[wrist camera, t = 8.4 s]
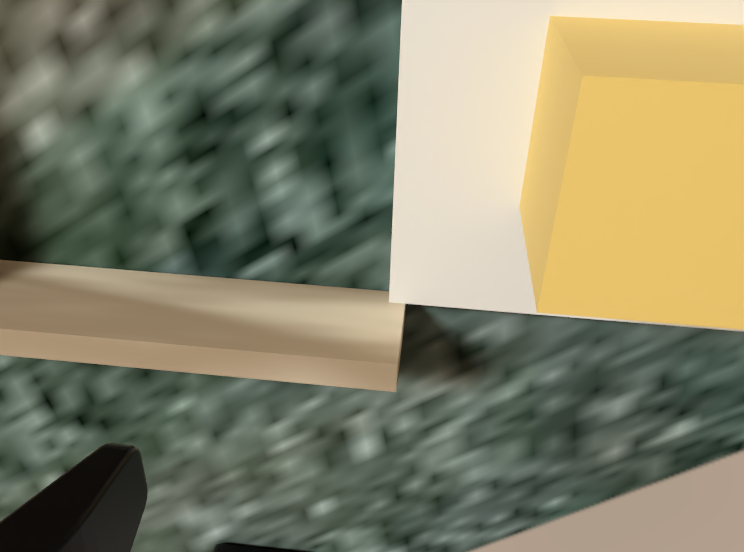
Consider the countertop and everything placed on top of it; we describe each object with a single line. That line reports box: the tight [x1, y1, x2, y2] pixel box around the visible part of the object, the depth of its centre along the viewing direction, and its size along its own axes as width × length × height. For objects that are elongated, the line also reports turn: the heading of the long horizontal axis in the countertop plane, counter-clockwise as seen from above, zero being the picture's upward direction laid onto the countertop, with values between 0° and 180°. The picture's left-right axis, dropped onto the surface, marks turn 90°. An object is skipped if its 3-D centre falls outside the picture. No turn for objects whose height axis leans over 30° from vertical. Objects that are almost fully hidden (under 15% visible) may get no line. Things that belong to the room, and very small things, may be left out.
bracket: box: [0, 260, 406, 392], centre depth 16 cm, size 16×16×4 cm
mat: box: [389, 0, 744, 332], centre depth 17 cm, size 12×12×1 cm
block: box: [519, 16, 744, 330], centre depth 15 cm, size 5×5×5 cm
